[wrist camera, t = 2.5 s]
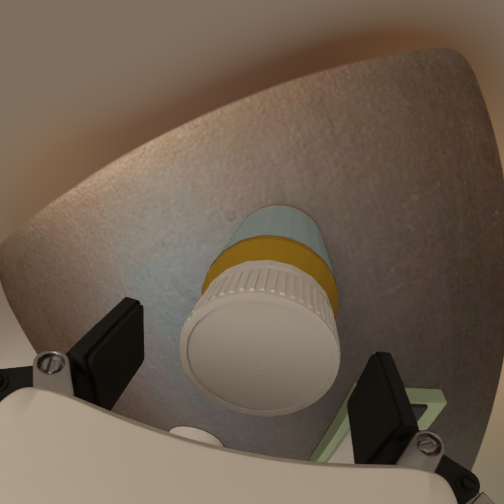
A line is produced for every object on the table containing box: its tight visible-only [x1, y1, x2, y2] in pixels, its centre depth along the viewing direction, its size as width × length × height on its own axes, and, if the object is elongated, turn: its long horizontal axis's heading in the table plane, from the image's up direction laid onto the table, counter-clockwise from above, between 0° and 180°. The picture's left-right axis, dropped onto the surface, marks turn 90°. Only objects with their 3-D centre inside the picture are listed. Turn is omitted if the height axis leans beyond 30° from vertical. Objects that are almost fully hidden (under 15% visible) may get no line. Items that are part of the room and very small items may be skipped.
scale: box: [310, 383, 447, 464], centre depth 29 cm, size 16×12×3 cm
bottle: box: [179, 204, 341, 416], centre depth 18 cm, size 7×7×15 cm
